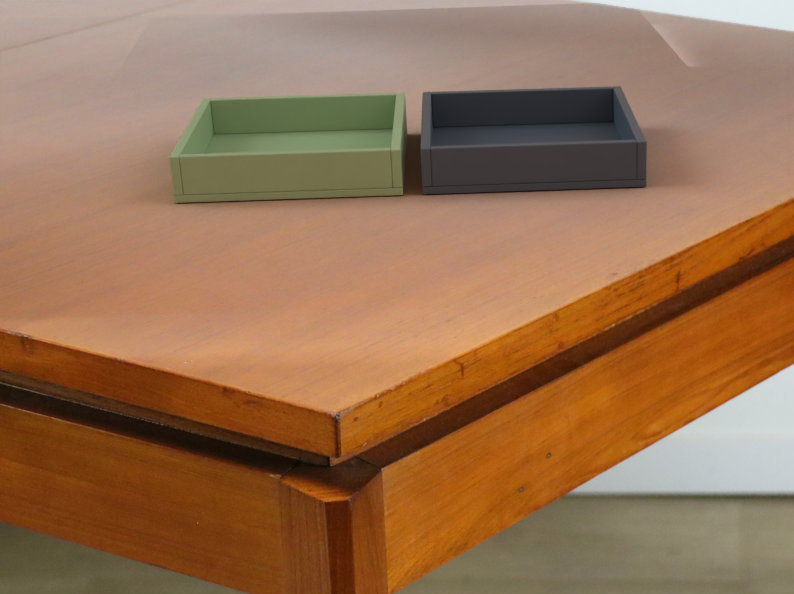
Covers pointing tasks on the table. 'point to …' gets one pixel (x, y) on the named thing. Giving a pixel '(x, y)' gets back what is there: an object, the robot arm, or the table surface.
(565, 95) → the slate tray
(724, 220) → the table surface
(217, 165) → the green tray
